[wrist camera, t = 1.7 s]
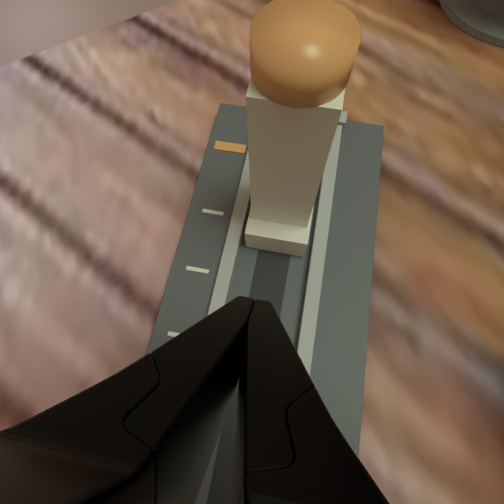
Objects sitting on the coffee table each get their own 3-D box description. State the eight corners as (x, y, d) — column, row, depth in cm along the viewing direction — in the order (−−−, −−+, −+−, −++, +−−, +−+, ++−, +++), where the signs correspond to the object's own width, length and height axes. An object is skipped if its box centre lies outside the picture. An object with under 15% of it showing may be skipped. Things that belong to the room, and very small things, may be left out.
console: (342, 567, 17) (354, 593, 15) (108, 507, 18) (88, 524, 16) (378, 137, 26) (388, 115, 24) (222, 115, 27) (219, 92, 25)
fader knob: (303, 256, 21) (356, 101, 10) (245, 247, 21) (230, 83, 10) (314, 187, 23) (370, -16, 11) (260, 179, 23) (262, -27, 12)
